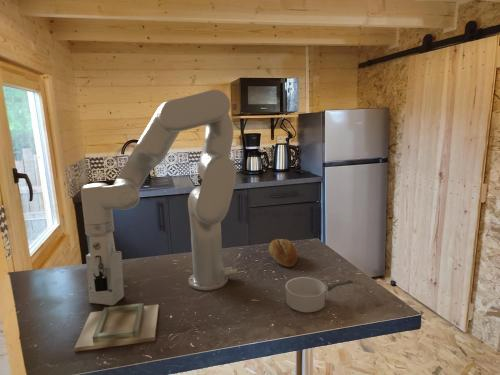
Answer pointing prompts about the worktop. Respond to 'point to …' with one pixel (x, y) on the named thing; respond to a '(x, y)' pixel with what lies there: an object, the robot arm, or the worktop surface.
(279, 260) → the bread roll
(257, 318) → the worktop surface
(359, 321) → the worktop surface
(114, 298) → the skincare box
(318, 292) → the saucepan
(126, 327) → the nest board
